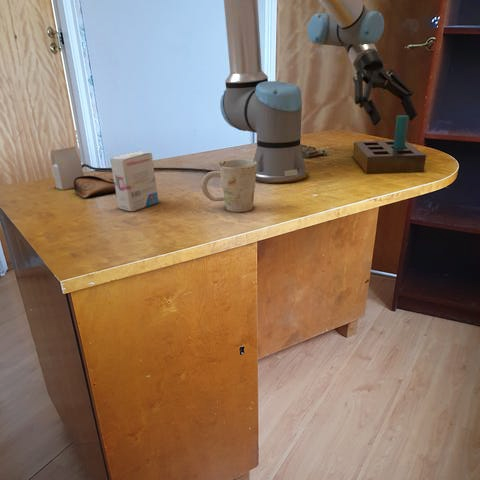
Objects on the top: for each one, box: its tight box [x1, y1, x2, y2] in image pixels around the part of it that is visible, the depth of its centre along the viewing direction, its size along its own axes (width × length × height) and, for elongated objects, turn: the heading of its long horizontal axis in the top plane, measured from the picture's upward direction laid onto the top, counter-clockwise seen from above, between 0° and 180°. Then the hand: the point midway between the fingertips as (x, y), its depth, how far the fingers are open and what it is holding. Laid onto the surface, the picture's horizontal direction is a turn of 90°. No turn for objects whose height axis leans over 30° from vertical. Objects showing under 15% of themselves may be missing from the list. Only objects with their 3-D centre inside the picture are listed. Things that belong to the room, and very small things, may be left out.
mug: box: [200, 158, 257, 213], centre depth 110 cm, size 8×13×10 cm, turn 89°
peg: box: [393, 114, 409, 149], centre depth 142 cm, size 3×3×13 cm
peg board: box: [352, 139, 427, 174], centre depth 144 cm, size 16×22×4 cm
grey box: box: [50, 145, 85, 191], centre depth 133 cm, size 4×7×10 cm, turn 135°
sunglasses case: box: [73, 171, 116, 199], centre depth 130 cm, size 18×7×7 cm
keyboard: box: [300, 143, 326, 159], centre depth 165 cm, size 22×9×2 cm, turn 33°
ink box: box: [109, 151, 159, 212], centre depth 114 cm, size 8×5×12 cm, turn 141°
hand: (396, 119), depth 141 cm, fingers open, 13 cm apart
